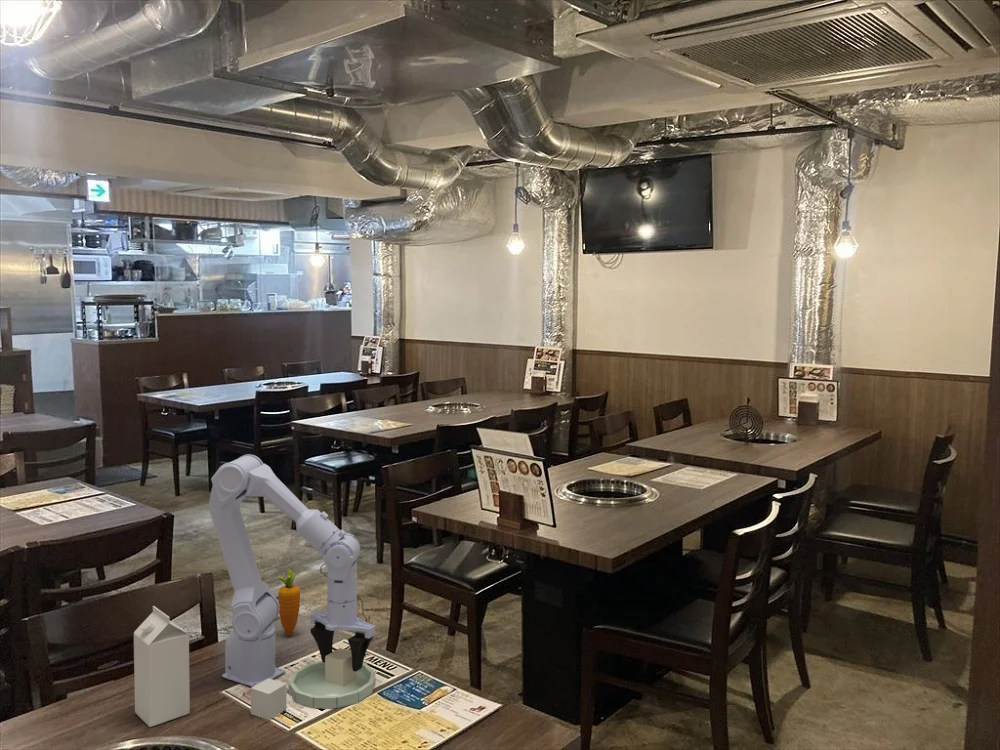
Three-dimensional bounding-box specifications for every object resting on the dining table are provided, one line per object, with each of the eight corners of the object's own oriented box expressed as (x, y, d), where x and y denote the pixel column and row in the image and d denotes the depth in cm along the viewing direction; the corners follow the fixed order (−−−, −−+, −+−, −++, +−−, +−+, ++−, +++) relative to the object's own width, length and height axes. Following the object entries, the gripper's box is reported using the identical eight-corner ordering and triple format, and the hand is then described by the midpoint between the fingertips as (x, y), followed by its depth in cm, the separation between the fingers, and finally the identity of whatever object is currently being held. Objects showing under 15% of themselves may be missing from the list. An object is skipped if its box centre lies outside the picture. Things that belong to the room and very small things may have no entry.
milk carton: (174, 699, 147) (172, 601, 145) (190, 714, 142) (188, 612, 140) (134, 713, 142) (132, 610, 140) (149, 728, 137) (148, 622, 135)
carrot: (294, 641, 173) (294, 575, 172) (273, 639, 174) (273, 573, 173) (304, 632, 178) (304, 568, 177) (284, 630, 179) (284, 566, 178)
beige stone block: (325, 680, 154) (325, 656, 154) (339, 671, 158) (339, 647, 157) (342, 686, 152) (343, 661, 152) (357, 677, 156) (357, 652, 155)
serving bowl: (272, 694, 149) (272, 684, 149) (327, 662, 163) (327, 652, 163) (338, 716, 142) (338, 705, 142) (390, 680, 156) (390, 670, 156)
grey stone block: (250, 714, 142) (250, 688, 142) (268, 704, 146) (268, 678, 146) (269, 720, 140) (269, 694, 140) (286, 710, 144) (286, 683, 144)
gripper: (299, 597, 154) (299, 664, 155) (359, 612, 147) (358, 681, 148) (323, 586, 160) (323, 650, 161) (381, 600, 153) (381, 667, 154)
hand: (341, 664), depth 155 cm, fingers open, 7 cm apart
